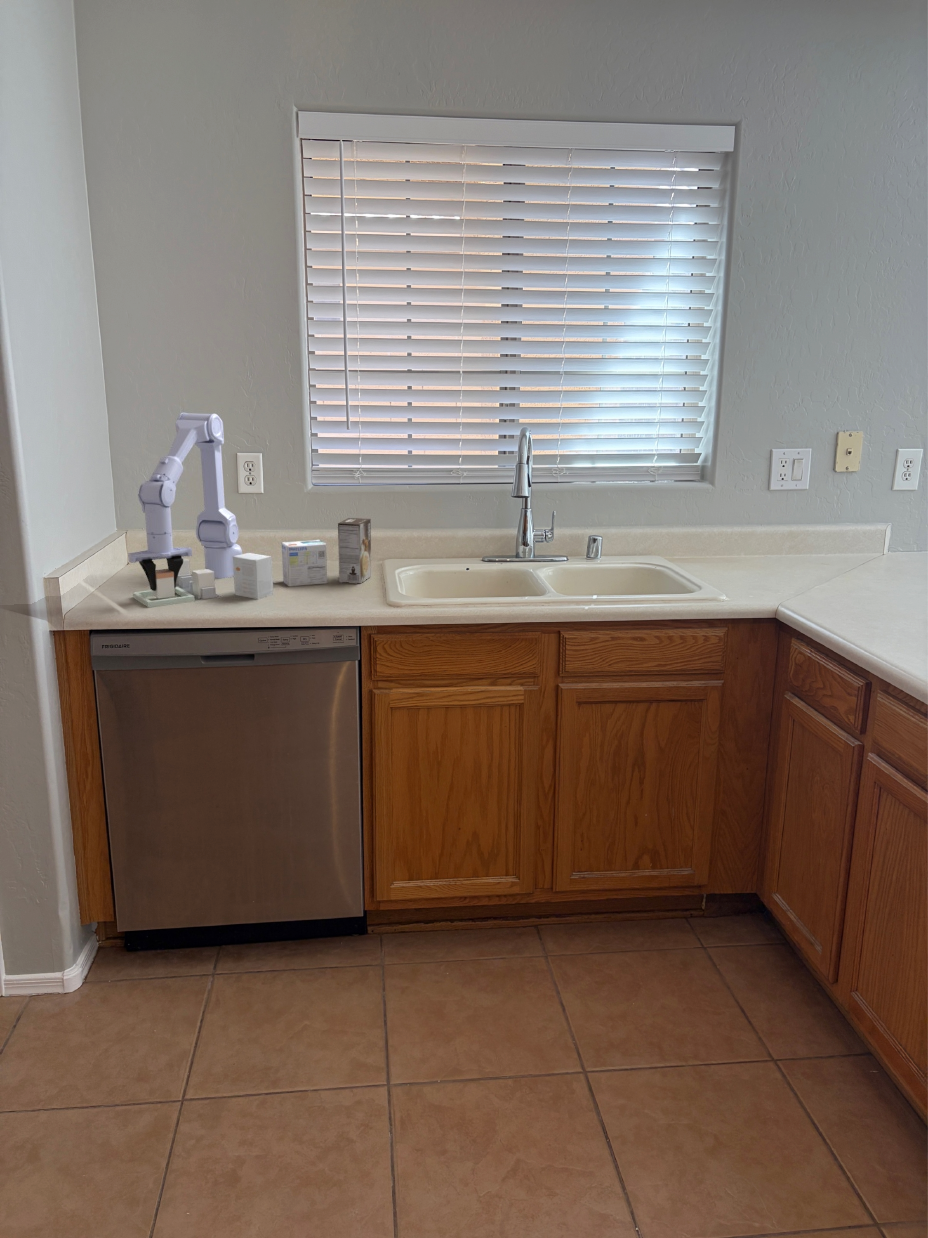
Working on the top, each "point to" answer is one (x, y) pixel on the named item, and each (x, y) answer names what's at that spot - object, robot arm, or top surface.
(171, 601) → the tray
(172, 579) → the block
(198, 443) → the robot arm
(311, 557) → the light bulb box
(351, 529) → the coffee box
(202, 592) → the fuse holder
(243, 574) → the small box
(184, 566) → the block
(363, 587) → the top surface
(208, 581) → the block
